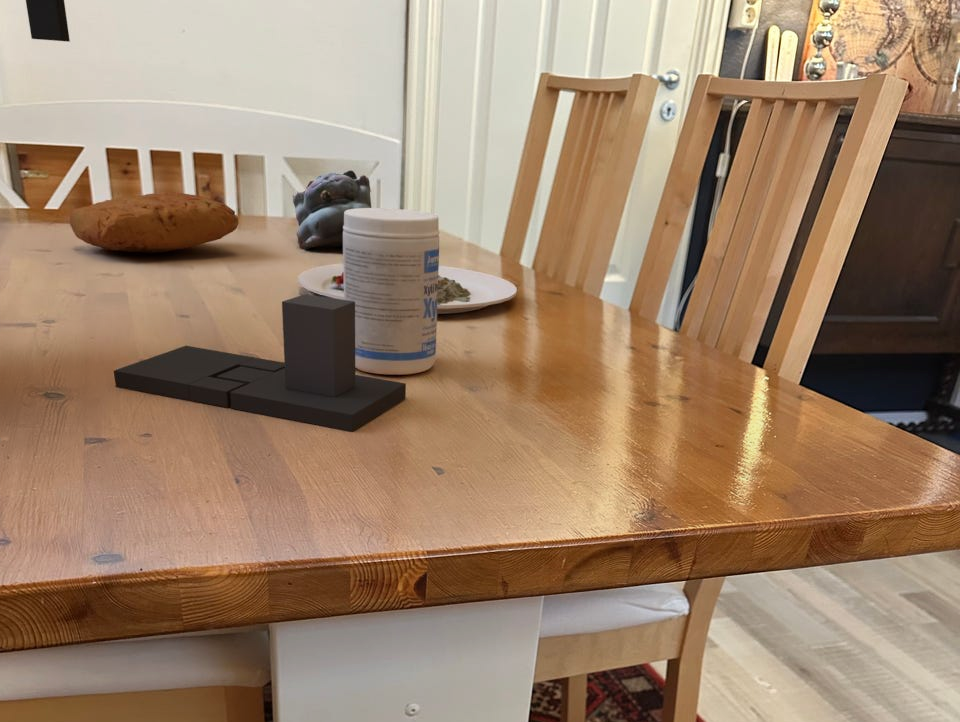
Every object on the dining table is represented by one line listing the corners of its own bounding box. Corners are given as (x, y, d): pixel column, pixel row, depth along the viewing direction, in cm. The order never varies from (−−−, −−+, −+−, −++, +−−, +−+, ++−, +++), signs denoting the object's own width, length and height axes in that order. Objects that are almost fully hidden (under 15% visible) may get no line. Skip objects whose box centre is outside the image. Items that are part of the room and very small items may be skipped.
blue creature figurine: (284, 249, 154) (271, 163, 153) (314, 270, 166) (302, 190, 165) (368, 229, 150) (356, 141, 149) (393, 251, 162) (381, 170, 161)
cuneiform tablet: (199, 240, 157) (194, 188, 152) (248, 258, 146) (244, 202, 142) (65, 246, 144) (57, 189, 140) (108, 266, 133) (100, 204, 129)
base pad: (115, 386, 85) (113, 370, 85) (187, 360, 94) (185, 345, 94) (228, 408, 82) (226, 391, 81) (291, 378, 91) (290, 363, 90)
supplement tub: (444, 377, 95) (451, 221, 87) (352, 378, 93) (351, 218, 85) (423, 353, 103) (428, 208, 95) (338, 353, 100) (336, 204, 93)
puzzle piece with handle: (195, 401, 83) (185, 297, 78) (261, 373, 92) (255, 277, 87) (352, 431, 79) (352, 323, 74) (405, 398, 88) (408, 300, 83)
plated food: (552, 317, 123) (555, 291, 121) (330, 323, 112) (330, 294, 110) (467, 274, 146) (468, 251, 144) (277, 275, 135) (276, 251, 133)
